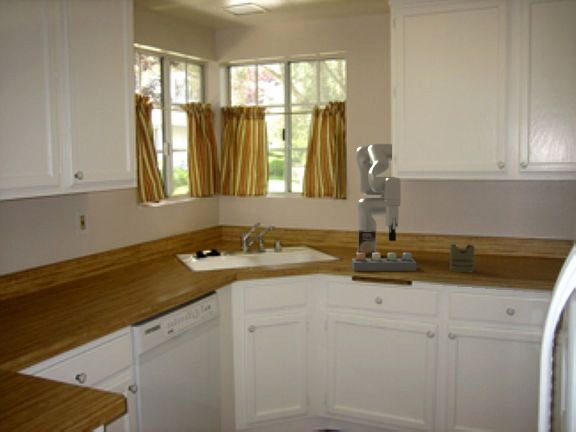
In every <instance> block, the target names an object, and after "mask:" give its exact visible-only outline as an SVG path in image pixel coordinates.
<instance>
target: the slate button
mask: <svg viewBox="0 0 576 432" xmlns="http://www.w3.org/2000/svg"><path fill="white" fill-rule="evenodd" d="M402 258H403V261H411V258H412V253H411V252H402Z"/></svg>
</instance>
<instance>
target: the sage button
mask: <svg viewBox="0 0 576 432" xmlns="http://www.w3.org/2000/svg"><path fill="white" fill-rule="evenodd" d="M387 258H388V261H396V258H397V253H396V252H388V253H387Z"/></svg>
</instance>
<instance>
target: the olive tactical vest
mask: <svg viewBox="0 0 576 432" xmlns="http://www.w3.org/2000/svg"><path fill="white" fill-rule="evenodd" d="M449 248H450V249H449V258H450V259H449V271H450V270H451V272H453V271H456V272H455V273H460V272H470V271H474V272H475V260H474V259H475V255H476V254H475V253H476V251H475V249H476V248H475V245H473V244H466V247H465V248H458V246H456V243H455V244H453V243H452V244H450V246H449ZM470 273H471V272H470Z"/></svg>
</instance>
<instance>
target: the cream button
mask: <svg viewBox="0 0 576 432" xmlns="http://www.w3.org/2000/svg"><path fill="white" fill-rule="evenodd" d="M381 254H382V253H381V252H379V253H372V261H380V260H381V256H382V255H381Z"/></svg>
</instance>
